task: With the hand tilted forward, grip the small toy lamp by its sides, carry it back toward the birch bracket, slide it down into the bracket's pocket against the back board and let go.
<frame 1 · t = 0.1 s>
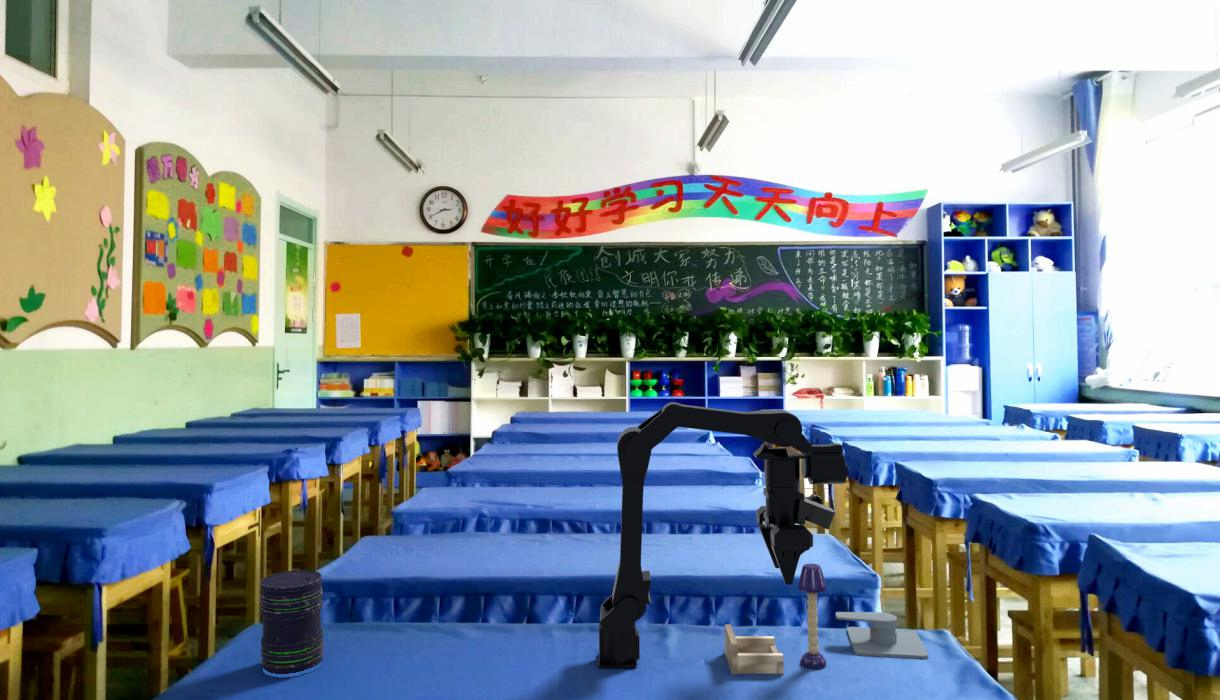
hand: (783, 575, 142), 15 cm above the table, tool pointing down, fingers open, 9 cm apart
shower valve: (878, 646, 150), on the table
storage jar: (292, 667, 141), on the table
birch bracket: (753, 663, 141), on the table
toy lamp: (812, 664, 141), on the table
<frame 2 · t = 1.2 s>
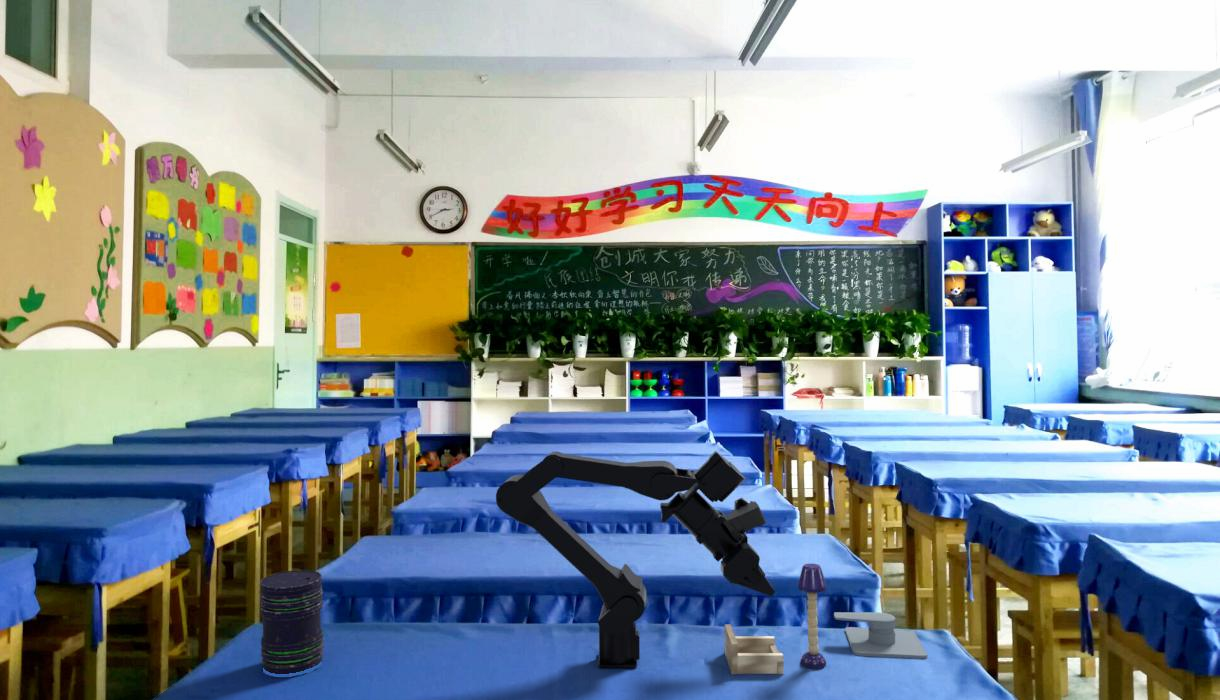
hand: (768, 585, 141), 13 cm above the table, tool tilted 45°, fingers open, 9 cm apart
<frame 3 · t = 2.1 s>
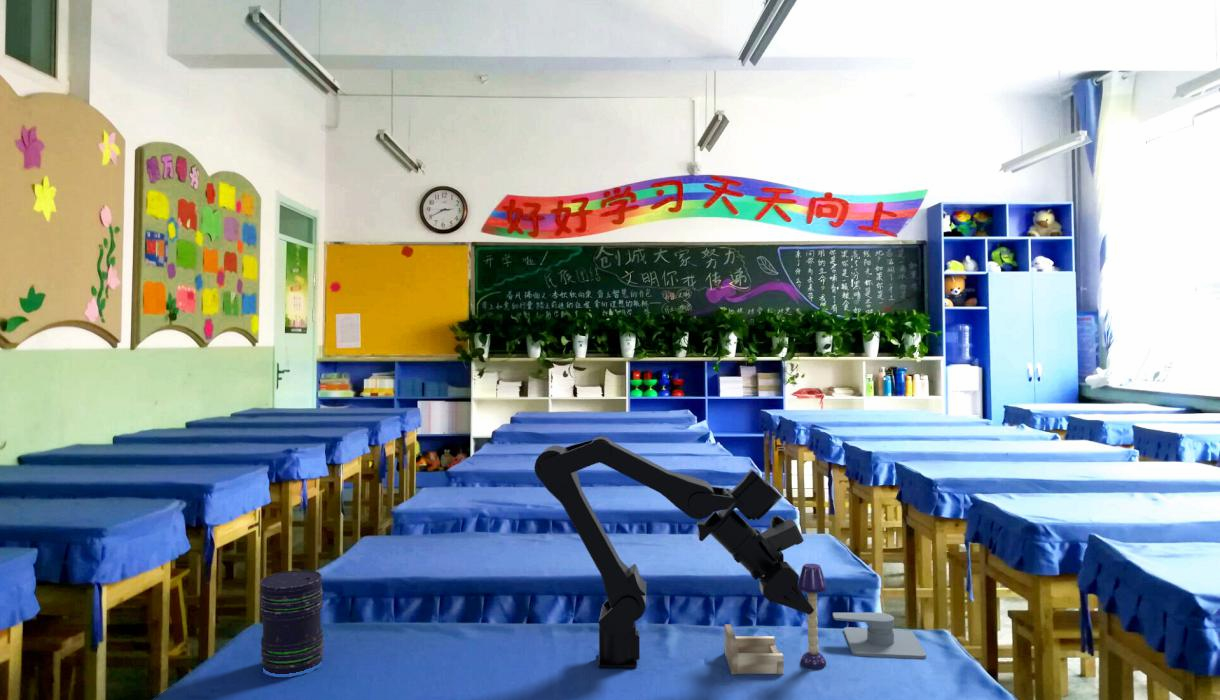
hand: (805, 603, 141), 10 cm above the table, tool tilted 45°, fingers open, 9 cm apart
nothing on the table moved.
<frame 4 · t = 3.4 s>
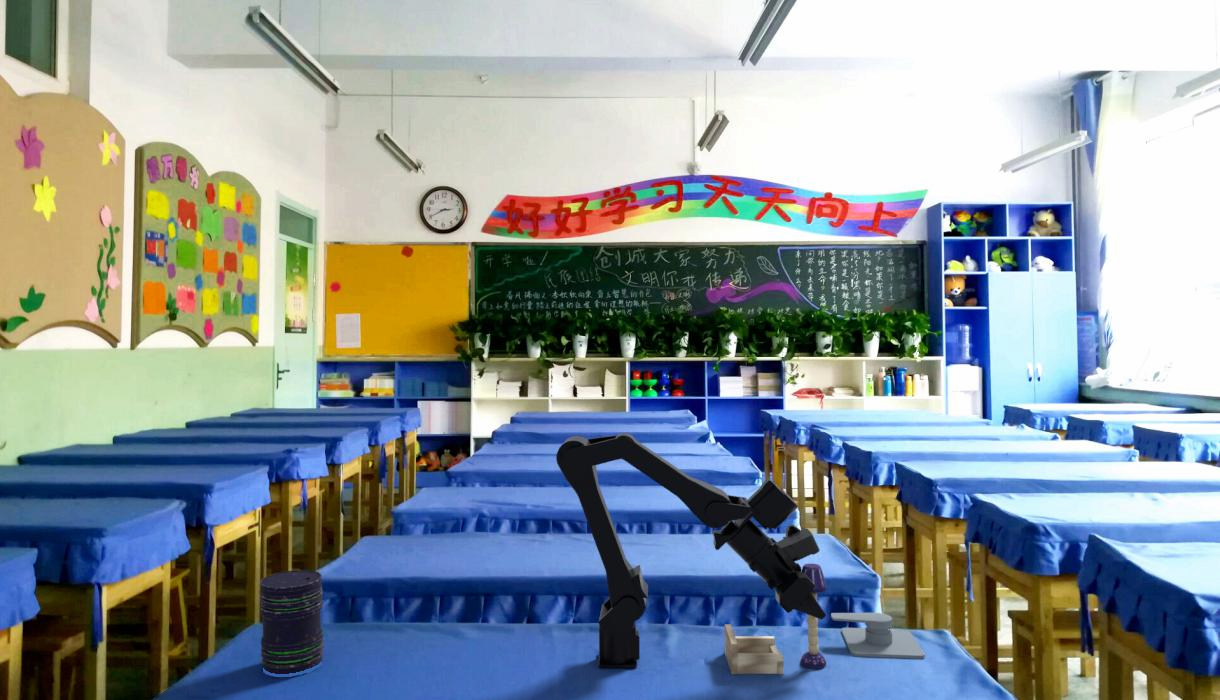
hand: (820, 612, 141), 9 cm above the table, tool tilted 45°, fingers closed on toy lamp, 4 cm apart
toy lamp: (812, 664, 141), on the table, touching gripper
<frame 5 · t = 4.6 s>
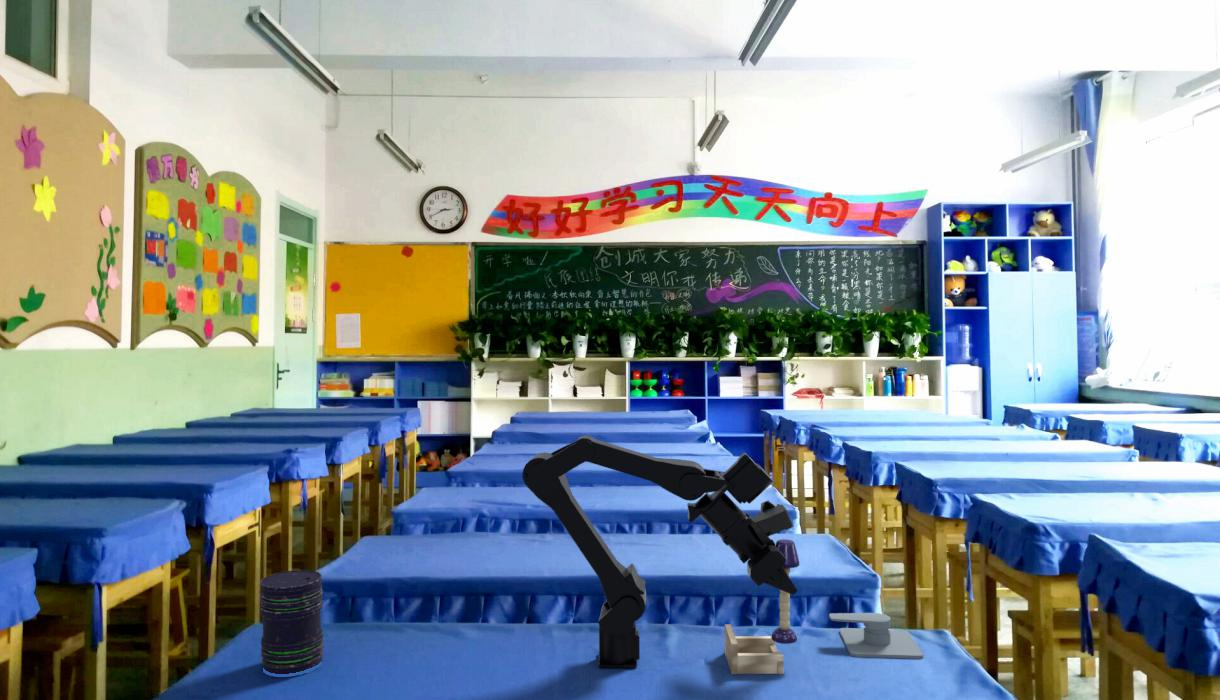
hand: (792, 588, 141), 13 cm above the table, tool tilted 45°, fingers closed on toy lamp, 4 cm apart
toy lamp: (783, 639, 141), point 4 cm above the table, touching gripper
when the fingers open (10 cm above the table, at t = 6.1 s): toy lamp drops 1 cm, resting in birch bracket.
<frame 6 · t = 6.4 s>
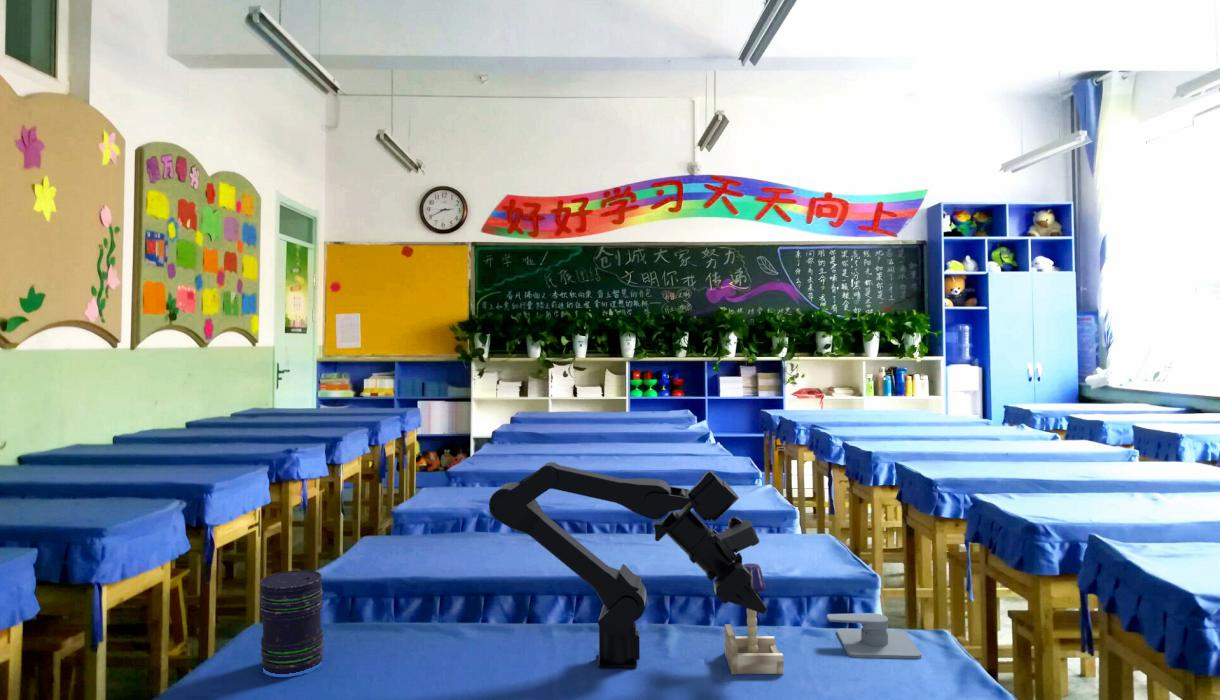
hand: (761, 604, 141), 10 cm above the table, tool tilted 45°, fingers open, 7 cm apart
toy lamp: (752, 664, 141), resting in birch bracket
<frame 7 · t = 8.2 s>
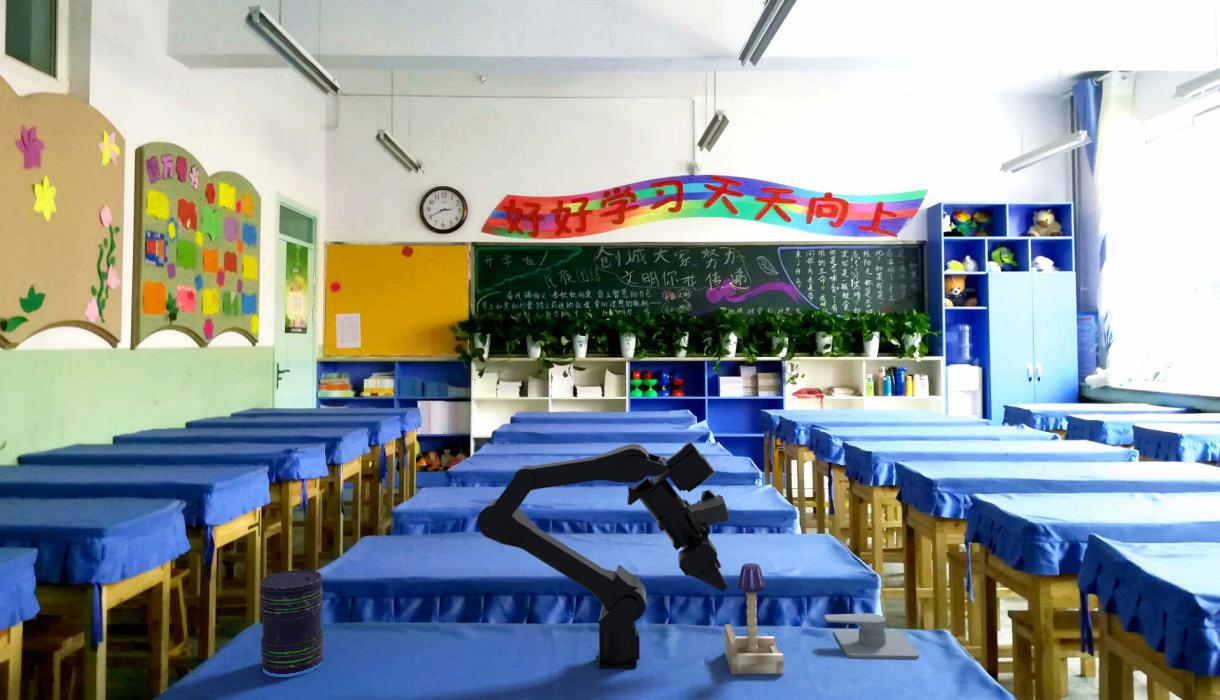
hand: (722, 578, 143), 14 cm above the table, tool tilted 35°, fingers open, 9 cm apart
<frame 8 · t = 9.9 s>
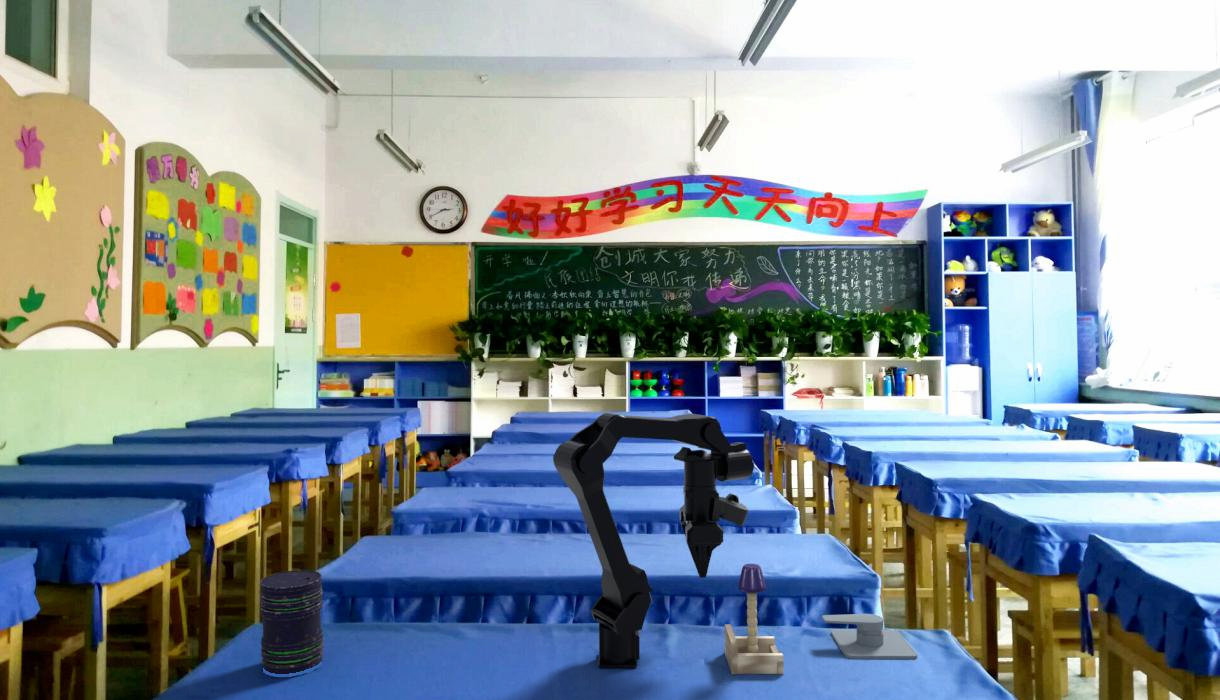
hand: (700, 569, 151), 13 cm above the table, tool pointing down, fingers open, 9 cm apart
at the end: toy lamp 0.2 cm off-centre on the birch bracket, point 0.0 cm above the birch bracket's base; toy lamp tilted 0°; the gripper is holding nothing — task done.
